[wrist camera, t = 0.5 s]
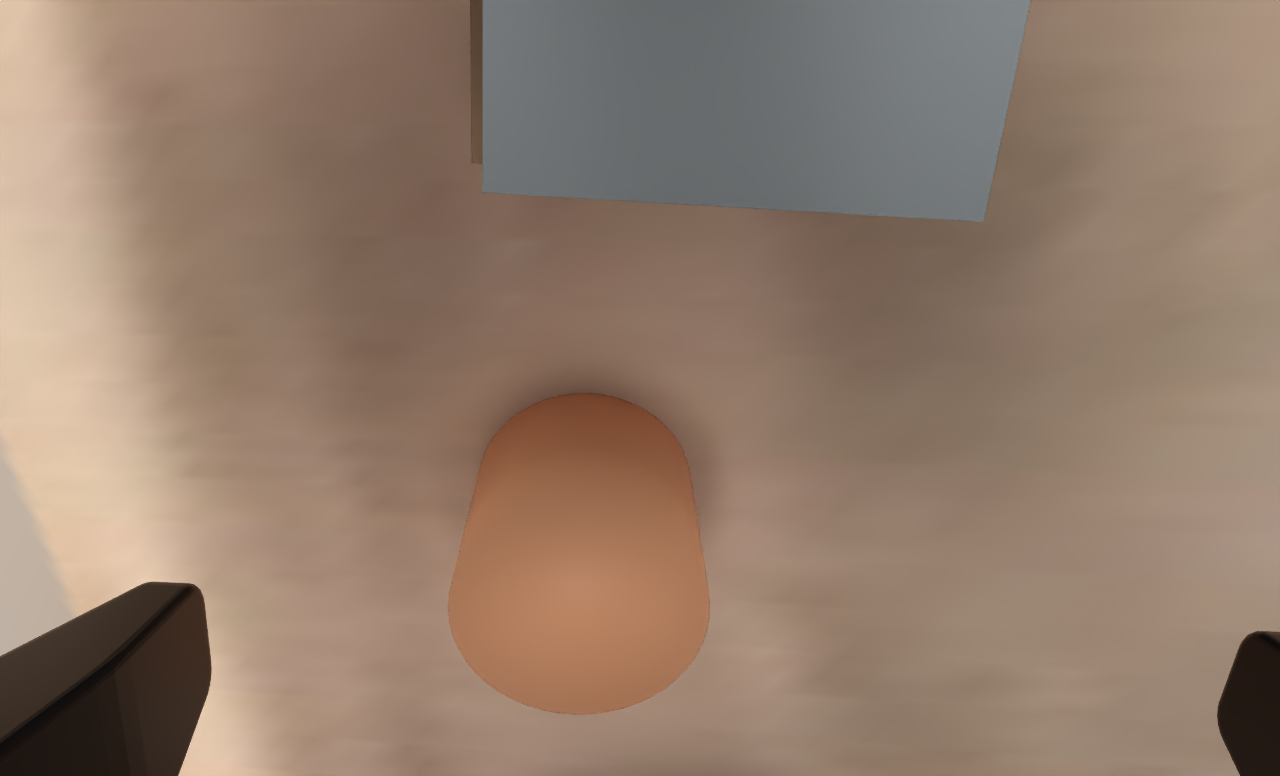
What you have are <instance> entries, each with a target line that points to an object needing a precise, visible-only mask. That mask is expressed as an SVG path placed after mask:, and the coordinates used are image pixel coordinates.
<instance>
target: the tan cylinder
mask: <svg viewBox="0 0 1280 776" xmlns="http://www.w3.org/2000/svg"><path fill="white" fill-rule="evenodd" d="M448 613H449V623H450V626H451V630H452V634H453V637H454V639H455V642H456V644H457V646H458V649H459V650H460V652H461V654H462V655H463V657H464V659H465V660H466V662H467V663H468V664H469V665H470V667H471V668H472V669H473V670H474V671H475V673H476V674H478V675H479V676H480V677H481V678H482V679H483V680H484V681H485V682H486V683H487V684H489V685H490V686H492V687H493V688H494V689H496V690H497V691H499V692H500V693H502V694H504V695H506V696H507V697H509V698H511V699H513V700H515V701H517V702H520V703H522V704H525V705H527V706H530V707H534V708H537V709H541V710H544V711H550V712H555V713H563V714H596V713H604V712H610V711H614V710H618V709H623V708H626V707H628V706H631V705H634V704H637V703H639V702H642V701H644V700H646V699H648V698H650V697H652V696H654V695H655V694H657V693H658V692H660V691H662V690H663V689H665V688H666V687H667V686H669V685H670V684H671V683H672V682H674V681H675V680H676V679H677V678H678V677H679V676H680V675H681V674H682V673H683V672H684V671H685V670H686V669H687V668H688V666H689V665H690V664H691V662H692V661H693V659H694V658H695V657H696V655H697V653H698V651H699V649H700V647H701V645H702V643H703V641H704V638H705V635H706V632H707V628H708V623H709V618H710V599H709V591H708V585H707V578H706V572H705V565H704V559H703V553H702V546H701V540H700V533H699V527H698V520H697V514H696V508H695V501H694V495H693V488H692V482H691V476H690V470H689V466H688V463H687V459H686V457H685V455H684V452H683V450H682V448H681V446H680V445H679V443H678V441H677V440H676V438H675V437H674V435H673V434H672V433H671V432H670V431H669V430H668V428H667V427H666V426H665V425H664V424H662V423H661V422H660V421H659V420H658V419H657V418H656V417H654V416H653V415H651V414H650V413H648V412H647V411H645V410H644V409H642V408H640V407H638V406H636V405H634V404H632V403H630V402H627V401H624V400H621V399H618V398H614V397H610V396H605V395H597V394H570V395H563V396H558V397H554V398H550V399H547V400H544V401H541V402H539V403H536V404H534V405H532V406H530V407H528V408H527V409H525V410H523V411H521V412H520V413H518V414H517V415H516V416H514V417H513V418H512V419H510V420H509V421H508V422H507V423H506V424H505V425H504V426H503V427H502V428H501V429H500V430H499V431H498V433H497V434H496V435H495V437H494V438H493V439H492V441H491V443H490V444H489V446H488V448H487V450H486V452H485V454H484V457H483V460H482V462H481V466H480V470H479V474H478V478H477V482H476V486H475V490H474V494H473V498H472V502H471V506H470V510H469V514H468V518H467V522H466V526H465V530H464V534H463V539H462V543H461V547H460V551H459V555H458V559H457V563H456V567H455V571H454V575H453V579H452V583H451V587H450V592H449V601H448Z"/></svg>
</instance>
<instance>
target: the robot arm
mask: <svg viewBox="0 0 1280 776" xmlns="http://www.w3.org/2000/svg"><path fill="white" fill-rule="evenodd" d="M211 669H212V668H211V656H210V647H209V638H208V629H207V620H206V612H205V603H204V598H203V595H202V593H201V590H200V589H199V588H198V587H197V586H195V585H194V584H190V583H169V582H147V583H144V584H141V585H139V586H137V587H135V588H133V589H131V590H129V591H128V592H126V593H124V594H122V595H120V596H118V597H116V598H114V599H112V600H110V601H108V602H106V603H104V604H102V605H100V606H98V607H96V608H94V609H92V610H90V611H88V612H86V613H84V614H82V615H80V616H78V617H76V618H74V619H72V620H70V621H69V622H67V623H65V624H63V625H61V626H59V627H57V628H55V629H53V630H51V631H49V632H47V633H45V634H43V635H41V636H39V637H37V638H35V639H33V640H31V641H29V642H28V643H26V644H23V645H21V646H19V647H17V648H16V649H13V650H12V651H10V652H8V653H6V654H4V655H2V656H0V776H178V775H179V772H180V769H181V767H182V764H183V761H184V758H185V756H186V753H187V750H188V747H189V745H190V742H191V739H192V736H193V734H194V731H195V728H196V725H197V723H198V720H199V717H200V714H201V712H202V709H203V706H204V703H205V700H206V698H207V695H208V691H209V687H210V681H211ZM1217 718H1218V726H1219V730H1220V733H1221V736H1222V739H1223V741H1224V743H1225V745H1226V747H1227V749H1228V751H1229V753H1230V755H1231V757H1232V760H1233V762H1234V764H1235V766H1236V768H1237V770H1238V772H1239V774H1240V776H1280V632H1269V631H1256V632H1253V633H1251V634H1249V635H1248V636H1246V638H1245V639H1244V640H1243V641H1242V642H1241V644H1240V646H1239V649H1238V652H1237V654H1236V657H1235V660H1234V663H1233V665H1232V668H1231V671H1230V674H1229V676H1228V679H1227V682H1226V685H1225V687H1224V690H1223V693H1222V696H1221V698H1220V701H1219V705H1218V712H1217Z"/></svg>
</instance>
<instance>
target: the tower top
mask: <svg viewBox="0 0 1280 776" xmlns="http://www.w3.org/2000/svg"><path fill="white" fill-rule="evenodd" d="M1030 2H1031V0H483V193H498V194H515V195H532V196H549V197H566V198H583V199H600V200H617V201H634V202H651V203H668V204H685V205H702V206H719V207H736V208H753V209H770V210H787V211H805V212H822V213H839V214H856V215H873V216H890V217H907V218H924V219H941V220H958V221H975V222H984V218H985V214H986V209H987V204H988V199H989V195H990V190H991V185H992V181H993V176H994V171H995V167H996V162H997V157H998V152H999V148H1000V143H1001V138H1002V134H1003V129H1004V124H1005V120H1006V115H1007V110H1008V106H1009V101H1010V96H1011V91H1012V87H1013V82H1014V77H1015V73H1016V68H1017V63H1018V59H1019V54H1020V49H1021V45H1022V40H1023V35H1024V30H1025V26H1026V21H1027V16H1028V12H1029V7H1030Z"/></svg>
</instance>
